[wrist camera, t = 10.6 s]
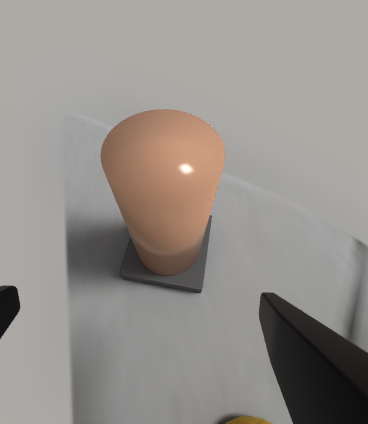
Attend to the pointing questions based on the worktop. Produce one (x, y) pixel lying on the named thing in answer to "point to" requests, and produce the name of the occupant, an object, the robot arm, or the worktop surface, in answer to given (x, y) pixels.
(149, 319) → the worktop surface
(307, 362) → the robot arm
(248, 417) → the bread roll
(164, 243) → the peach cylinder
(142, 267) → the plate
